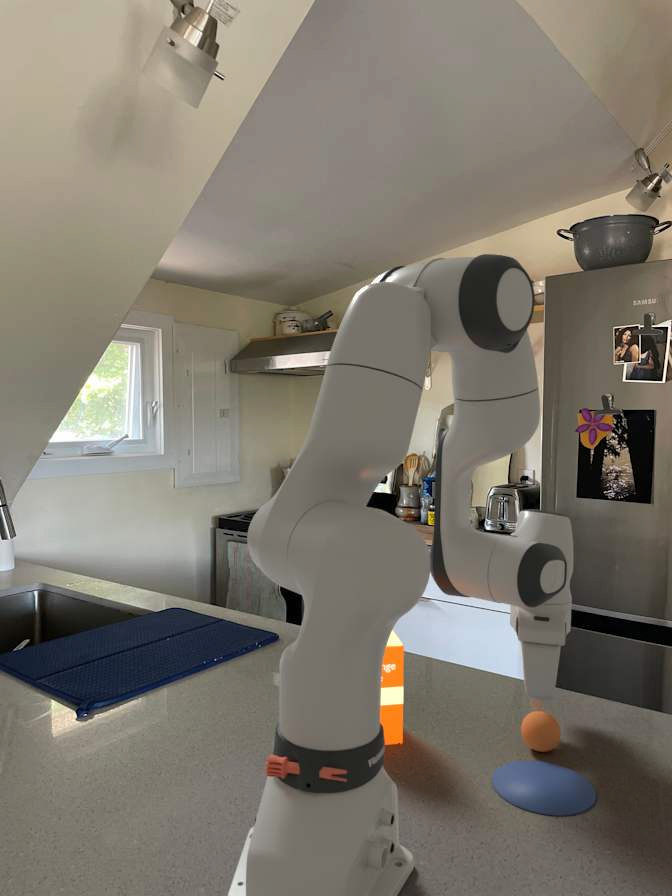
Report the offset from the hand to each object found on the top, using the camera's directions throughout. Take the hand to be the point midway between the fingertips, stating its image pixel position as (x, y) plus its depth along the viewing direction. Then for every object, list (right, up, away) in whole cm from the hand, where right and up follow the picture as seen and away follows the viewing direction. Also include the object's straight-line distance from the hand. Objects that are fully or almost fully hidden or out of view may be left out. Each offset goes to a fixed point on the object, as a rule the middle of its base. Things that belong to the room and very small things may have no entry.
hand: (536, 706), depth 106 cm
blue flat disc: (-3, -5, -15) cm, 16 cm away
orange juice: (-25, -4, 0) cm, 25 cm away
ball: (-1, -2, -5) cm, 5 cm away
